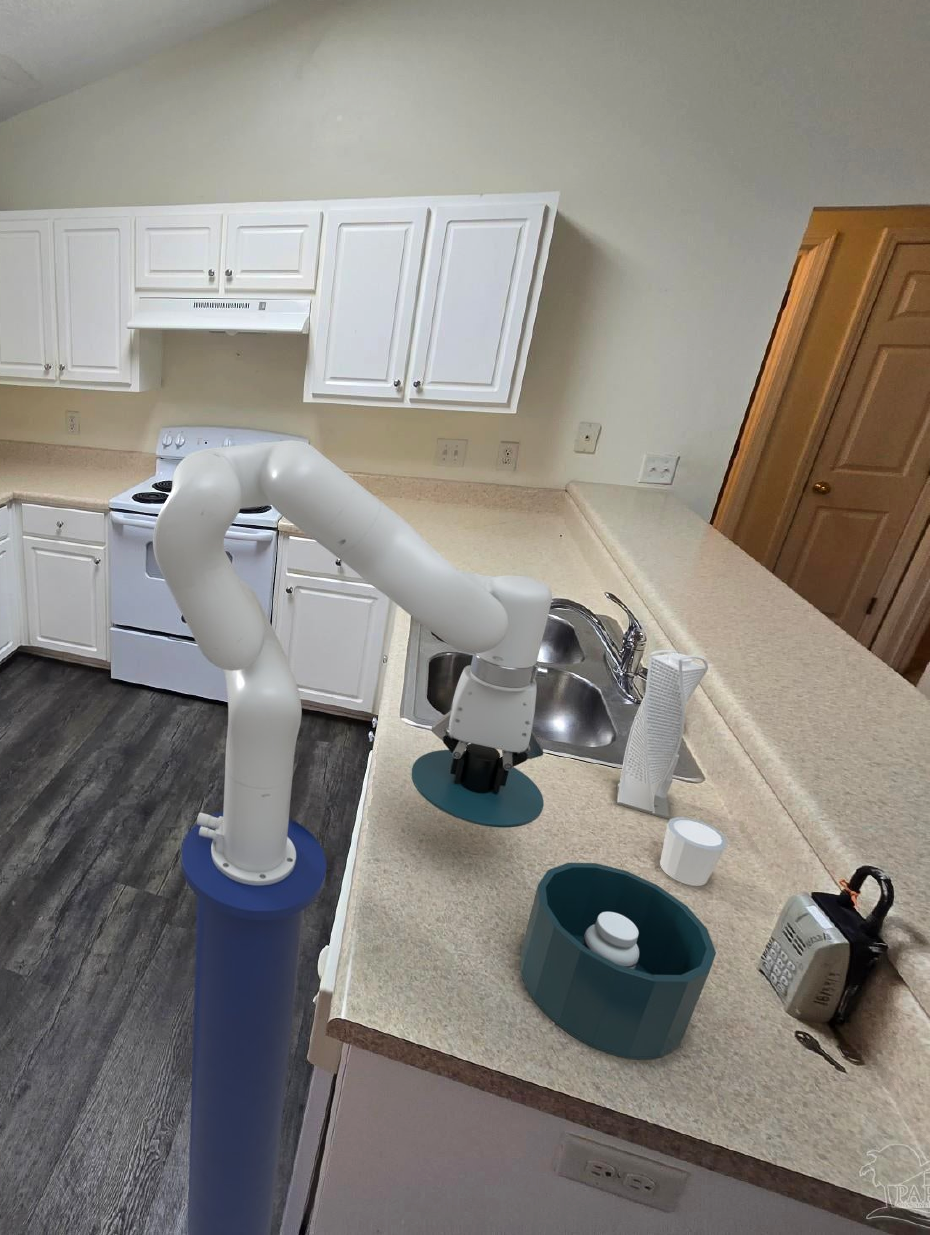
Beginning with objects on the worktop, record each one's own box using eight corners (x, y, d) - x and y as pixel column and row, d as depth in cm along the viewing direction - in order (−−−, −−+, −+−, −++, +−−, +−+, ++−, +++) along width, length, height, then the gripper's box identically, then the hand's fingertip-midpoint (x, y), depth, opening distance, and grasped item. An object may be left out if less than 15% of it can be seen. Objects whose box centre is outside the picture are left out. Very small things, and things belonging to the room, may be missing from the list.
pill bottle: (573, 959, 85) (591, 899, 81) (623, 979, 82) (645, 917, 79) (570, 993, 80) (590, 931, 77) (624, 1015, 78) (647, 951, 74)
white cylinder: (666, 884, 97) (680, 844, 94) (647, 851, 103) (659, 812, 101) (722, 893, 96) (738, 853, 93) (699, 859, 102) (713, 820, 99)
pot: (522, 1024, 77) (544, 948, 73) (517, 916, 91) (534, 847, 87) (701, 1084, 71) (735, 1005, 67) (665, 959, 85) (692, 887, 81)
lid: (404, 809, 95) (412, 769, 92) (415, 745, 110) (422, 708, 107) (546, 846, 88) (558, 804, 86) (537, 772, 103) (547, 735, 101)
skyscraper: (668, 824, 109) (722, 664, 98) (608, 806, 113) (654, 651, 102) (666, 795, 116) (716, 643, 105) (609, 780, 119) (652, 631, 109)
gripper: (570, 669, 92) (540, 783, 99) (436, 645, 98) (416, 754, 105) (577, 694, 86) (543, 815, 92) (432, 667, 92) (411, 782, 98)
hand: (476, 781), depth 98 cm, fingers closed on lid, 4 cm apart
